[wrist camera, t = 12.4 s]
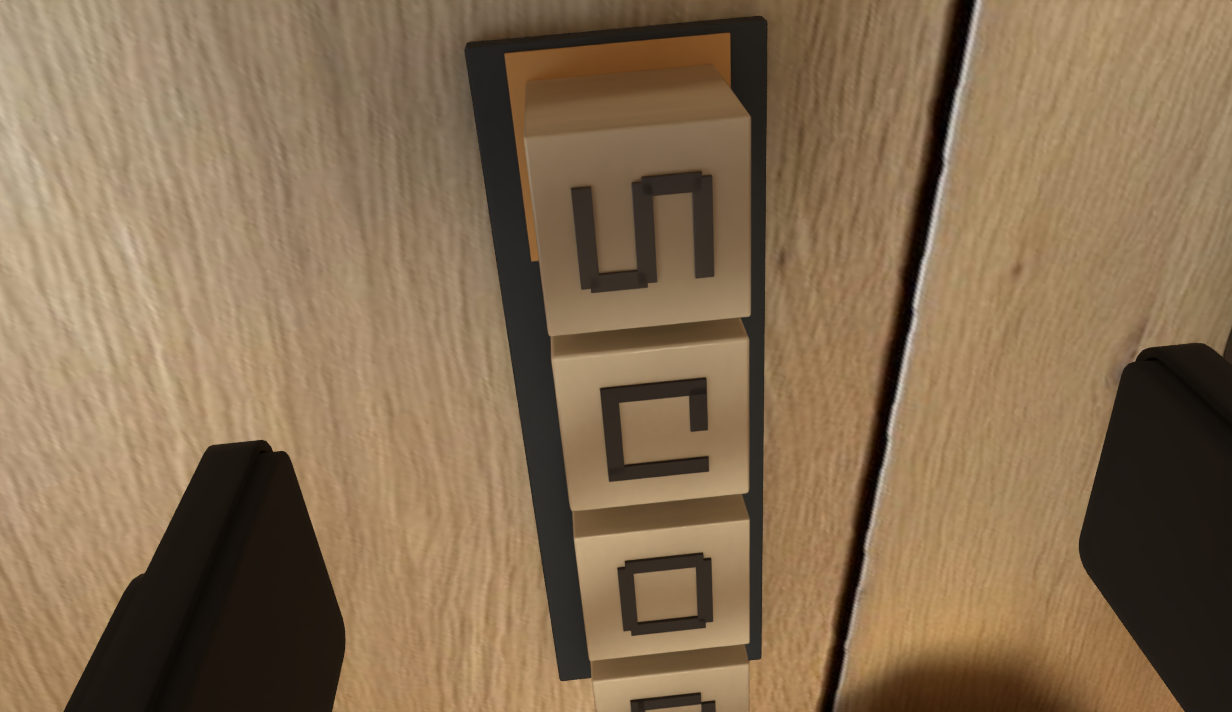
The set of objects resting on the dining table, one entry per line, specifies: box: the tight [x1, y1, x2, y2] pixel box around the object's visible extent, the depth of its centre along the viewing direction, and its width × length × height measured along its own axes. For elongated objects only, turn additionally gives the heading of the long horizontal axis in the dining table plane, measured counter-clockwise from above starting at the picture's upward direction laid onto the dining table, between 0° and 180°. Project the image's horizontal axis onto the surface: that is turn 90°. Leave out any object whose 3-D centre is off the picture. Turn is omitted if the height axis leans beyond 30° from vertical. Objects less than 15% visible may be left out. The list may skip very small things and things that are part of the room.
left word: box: [465, 16, 767, 712], centre depth 25 cm, size 21×7×5 cm, turn 4°
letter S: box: [524, 64, 751, 336], centre depth 21 cm, size 4×4×4 cm
